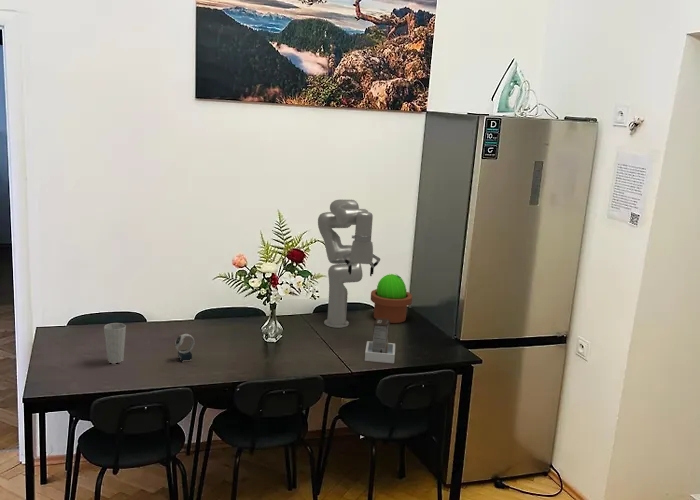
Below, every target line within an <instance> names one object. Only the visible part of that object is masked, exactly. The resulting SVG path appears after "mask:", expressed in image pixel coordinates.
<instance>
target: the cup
mask: <svg viewBox="0 0 700 500" xmlns="http://www.w3.org/2000/svg"><path fill="white" fill-rule="evenodd" d="M126 328H127V325H126V324H125V323H123V322H111V323H107V324H105V325H104V326H103V332H104V333H103V334H104V341H105V348H106V349H105V350H106V358H107V362H108V361H109V362H111V363H117V362H121V361H123V362H124V355H125V344H126V330H127V329H126Z"/></svg>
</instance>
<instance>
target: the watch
mask: <svg viewBox="0 0 700 500" xmlns="http://www.w3.org/2000/svg"><path fill="white" fill-rule="evenodd" d="M186 337H188V338H191V339H192V340H191V342H190V344H189V346H188V348H187V349H183V350H179V348H180V347H181V346H182V344H183V343H184V341H185V340H184V339H185V338H186ZM195 343H196V342H195V338H194V337H193V336H192V335H191V334H188V333H183V334H179V335H178V336H177V337H176V339H175V341H174V347H175V349H176V351H177V358H178V357H179V358H180V359H181V361H183V360H190V359H193V354H192V352H191V351H192V350H193V348H194V347H195ZM179 358H178V359H179ZM181 361H180V362H181Z"/></svg>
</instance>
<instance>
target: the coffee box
mask: <svg viewBox="0 0 700 500" xmlns="http://www.w3.org/2000/svg"><path fill="white" fill-rule="evenodd" d="M390 324H391V323H390V319H380V318H376V319H375V322H374V323H373V333H372V342H373V346H372V352H378V353H387V352H388V343H389V339H390V337H389V336H390Z"/></svg>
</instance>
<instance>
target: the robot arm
mask: <svg viewBox="0 0 700 500" xmlns="http://www.w3.org/2000/svg"><path fill="white" fill-rule="evenodd" d="M359 206H360V205H359V203H358V202H357V200H354V199H335V200H333V201H332V202H331V203H330V204H329V211H327V212H326V211H324V212H322V213H320V214H319V215H318V218H317V226H318V230H319V233H320V235H321V237H322V239H323V242H324V247H325V252H326V257H327V259H328V262H329V263H330V264H332V265H331V266H330V267H329V268H328V270H327V277H328V307H327V319H325V320H324V321H323V322H324V325H325V326H327V327H330V328H335V329H342V328H347V327H348V326H349V325H350V324H349V323H350V322H349V321H348V320H347V310H348V308H347V306H348V294H349V292H348V289H347V287H346V286H345V284H348V283H358V282H360V281H362V279H363V268H362V264H363V265H370V268H369V271H370V272H369V276H370V277H372V276H373V275H374V271H375V270H374V269H375V267H376V266H378V264H380V263H379V262H380V261H381V258H380V257H379V256H377V255H376V254H374V245H373V243H374V242H372V235H373V234H372V231H373V220H374V219H373V218H374V215H373V213H372V212H370V211H369V210H368V209H366V208H360V207H359ZM351 226H355V229H354V235H351V239H354V240H353V241H352V244H351V245H350V244H345V245H344V244H342V241H341V237H340V236H339V234H338V233H337V232H336V231H335V230H334V229H348V228H350V227H351ZM373 259H374V260H376V261H375V262H373Z"/></svg>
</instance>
